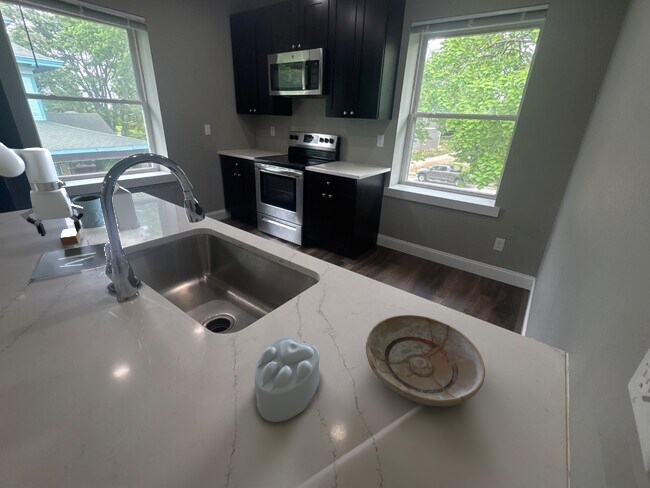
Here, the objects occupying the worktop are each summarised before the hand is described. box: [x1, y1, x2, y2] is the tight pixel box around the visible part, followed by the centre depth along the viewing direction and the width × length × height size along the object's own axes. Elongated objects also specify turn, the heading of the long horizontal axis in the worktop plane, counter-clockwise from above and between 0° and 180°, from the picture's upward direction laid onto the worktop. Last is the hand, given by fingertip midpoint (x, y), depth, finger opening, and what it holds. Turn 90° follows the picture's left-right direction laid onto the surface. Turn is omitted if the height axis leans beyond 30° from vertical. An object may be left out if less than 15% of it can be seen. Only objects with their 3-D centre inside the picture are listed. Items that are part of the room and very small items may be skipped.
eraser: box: [59, 228, 82, 247], centre depth 111 cm, size 8×4×4 cm, turn 32°
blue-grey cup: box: [71, 194, 106, 229], centre depth 126 cm, size 10×10×12 cm
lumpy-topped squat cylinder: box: [254, 336, 320, 423], centre depth 55 cm, size 10×13×9 cm
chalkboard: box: [30, 242, 107, 281], centre depth 100 cm, size 20×20×1 cm
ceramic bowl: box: [365, 314, 486, 407], centre depth 62 cm, size 23×24×5 cm
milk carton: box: [113, 182, 140, 231], centre depth 124 cm, size 7×7×19 cm
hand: (61, 233), depth 108 cm, fingers open, 9 cm apart
